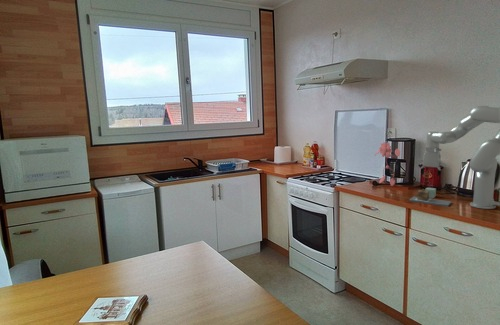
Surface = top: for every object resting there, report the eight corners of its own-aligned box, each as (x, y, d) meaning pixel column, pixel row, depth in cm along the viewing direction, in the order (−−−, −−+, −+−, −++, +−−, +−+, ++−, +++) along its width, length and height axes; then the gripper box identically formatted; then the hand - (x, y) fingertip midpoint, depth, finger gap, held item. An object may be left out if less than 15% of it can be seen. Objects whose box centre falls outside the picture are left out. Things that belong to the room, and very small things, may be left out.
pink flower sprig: (379, 181, 271) (379, 140, 265) (404, 187, 247) (405, 142, 242) (365, 183, 265) (365, 141, 260) (389, 190, 241) (390, 144, 236)
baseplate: (451, 202, 202) (451, 201, 202) (447, 206, 194) (447, 204, 194) (413, 197, 216) (413, 196, 216) (409, 201, 209) (409, 199, 209)
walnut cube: (428, 199, 208) (429, 190, 207) (426, 201, 204) (427, 192, 203) (419, 197, 212) (419, 189, 211) (417, 199, 208) (417, 191, 207)
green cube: (435, 196, 219) (436, 188, 218) (433, 198, 214) (434, 190, 214) (426, 195, 222) (427, 187, 221) (424, 197, 218) (425, 189, 217)
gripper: (448, 150, 211) (446, 175, 214) (419, 148, 222) (418, 172, 225) (445, 151, 205) (443, 177, 208) (416, 149, 217) (415, 174, 220)
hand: (430, 175), depth 217 cm, fingers open, 9 cm apart
